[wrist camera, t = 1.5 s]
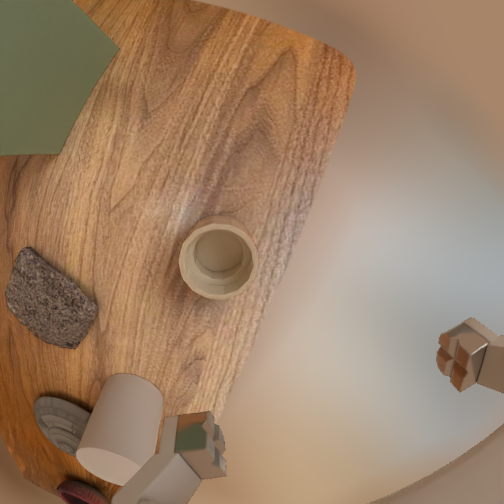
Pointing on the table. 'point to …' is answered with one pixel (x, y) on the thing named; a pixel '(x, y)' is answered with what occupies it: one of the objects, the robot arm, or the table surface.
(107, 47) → the scale
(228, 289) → the small bowl
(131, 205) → the table surface
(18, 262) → the stone
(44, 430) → the flying saucer
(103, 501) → the bowl
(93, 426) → the taupe round pillar
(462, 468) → the robot arm
